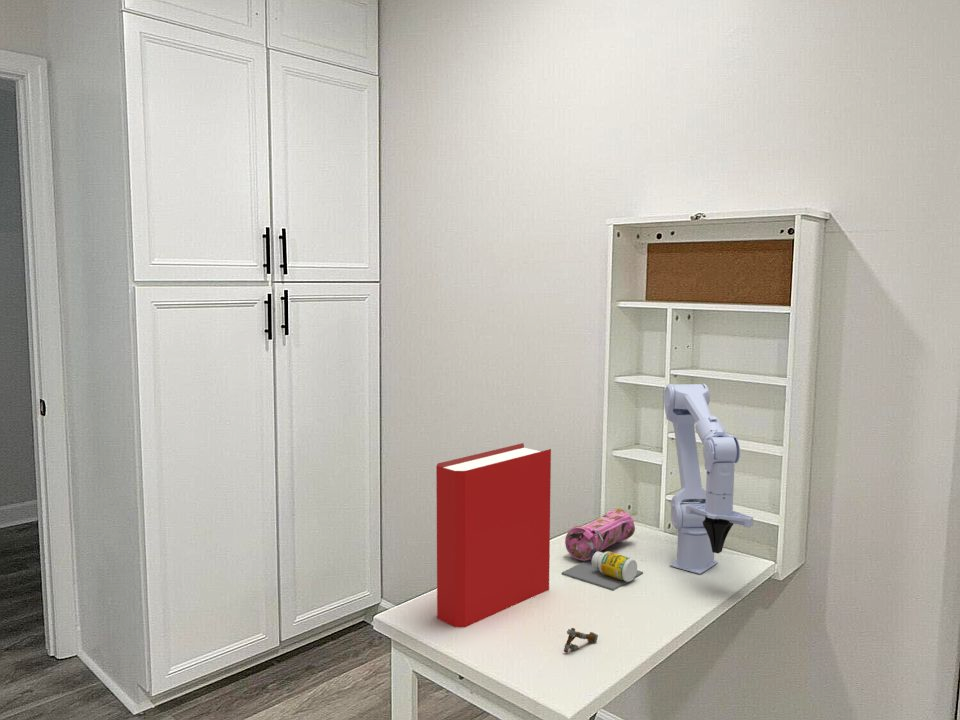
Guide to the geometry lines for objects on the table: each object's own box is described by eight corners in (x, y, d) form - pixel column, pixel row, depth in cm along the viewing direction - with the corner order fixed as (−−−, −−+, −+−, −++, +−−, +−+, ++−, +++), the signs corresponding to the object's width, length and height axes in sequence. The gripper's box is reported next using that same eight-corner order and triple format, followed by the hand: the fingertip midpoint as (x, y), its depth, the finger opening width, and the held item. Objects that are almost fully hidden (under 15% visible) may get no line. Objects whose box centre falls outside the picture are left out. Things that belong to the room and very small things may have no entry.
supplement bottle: (639, 571, 182) (605, 560, 189) (634, 554, 180) (600, 543, 187) (627, 587, 179) (592, 575, 186) (622, 569, 177) (587, 558, 184)
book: (522, 579, 182) (523, 443, 178) (549, 589, 177) (550, 448, 173) (433, 616, 163) (432, 464, 159) (460, 629, 158) (460, 472, 154)
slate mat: (592, 558, 195) (592, 557, 195) (642, 573, 186) (642, 571, 186) (561, 574, 185) (561, 572, 185) (613, 590, 176) (613, 588, 176)
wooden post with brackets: (558, 649, 148) (565, 625, 148) (584, 653, 153) (591, 630, 153) (565, 653, 146) (572, 629, 147) (591, 657, 151) (598, 634, 152)
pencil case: (595, 566, 189) (596, 530, 188) (562, 557, 194) (563, 522, 194) (637, 543, 206) (638, 510, 205) (605, 536, 211) (606, 503, 210)
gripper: (680, 488, 174) (678, 548, 176) (744, 502, 165) (741, 565, 166) (694, 482, 179) (692, 540, 181) (758, 494, 170) (755, 555, 172)
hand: (717, 551), depth 174 cm, fingers closed
